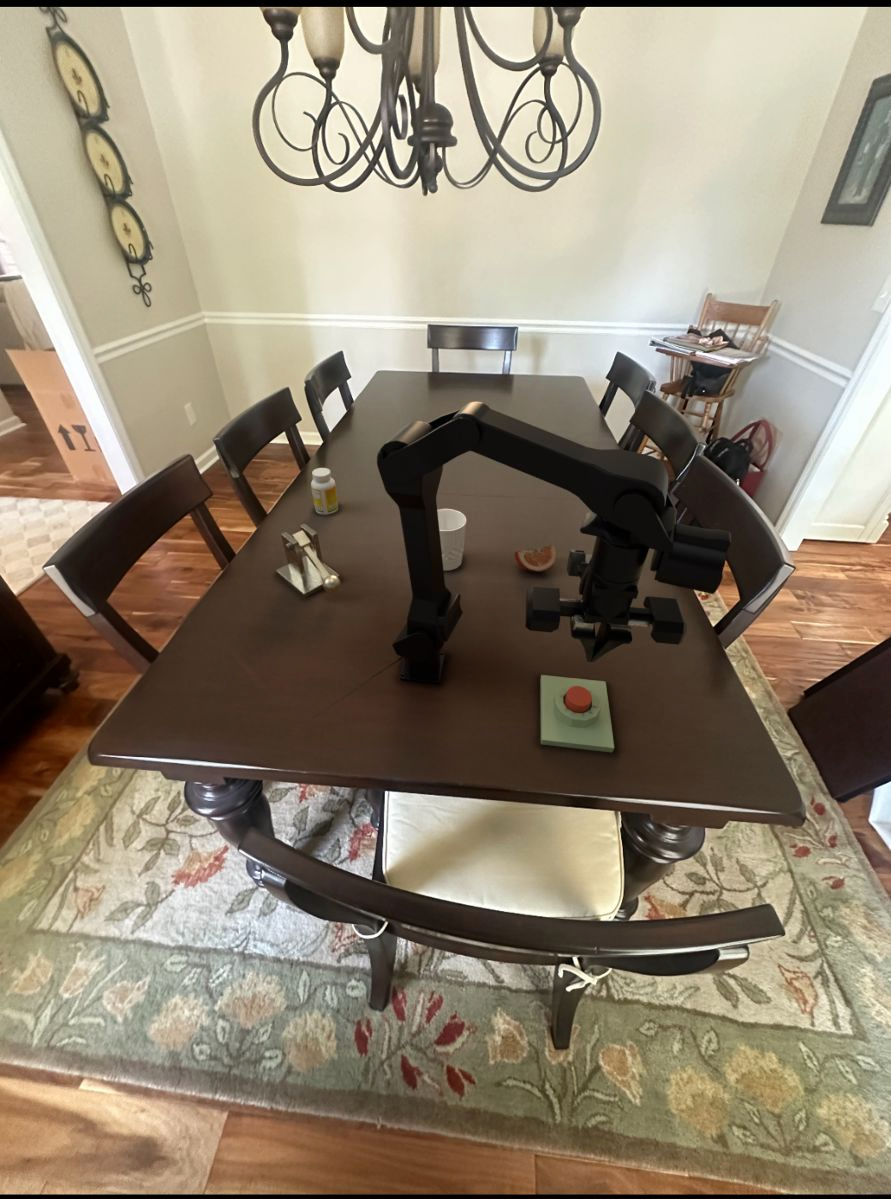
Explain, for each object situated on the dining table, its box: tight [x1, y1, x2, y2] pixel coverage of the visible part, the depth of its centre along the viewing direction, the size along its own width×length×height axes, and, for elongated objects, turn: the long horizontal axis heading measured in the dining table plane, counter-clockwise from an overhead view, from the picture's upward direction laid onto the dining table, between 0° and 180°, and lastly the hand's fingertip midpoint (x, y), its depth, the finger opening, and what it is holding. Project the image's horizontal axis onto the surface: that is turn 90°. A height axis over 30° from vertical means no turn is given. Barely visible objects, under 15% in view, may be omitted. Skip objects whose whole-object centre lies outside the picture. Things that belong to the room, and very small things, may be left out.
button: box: [565, 686, 592, 713], centre depth 75 cm, size 4×4×2 cm
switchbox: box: [539, 674, 615, 753], centre depth 76 cm, size 12×10×3 cm
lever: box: [291, 530, 342, 594], centre depth 95 cm, size 13×3×3 cm
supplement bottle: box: [310, 467, 339, 516], centre depth 117 cm, size 5×5×10 cm
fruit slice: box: [514, 544, 558, 573], centre depth 102 cm, size 8×7×5 cm
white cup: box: [437, 508, 467, 572], centre depth 102 cm, size 8×8×10 cm
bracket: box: [276, 523, 341, 598], centre depth 98 cm, size 10×8×10 cm
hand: (589, 659), depth 69 cm, fingers closed
